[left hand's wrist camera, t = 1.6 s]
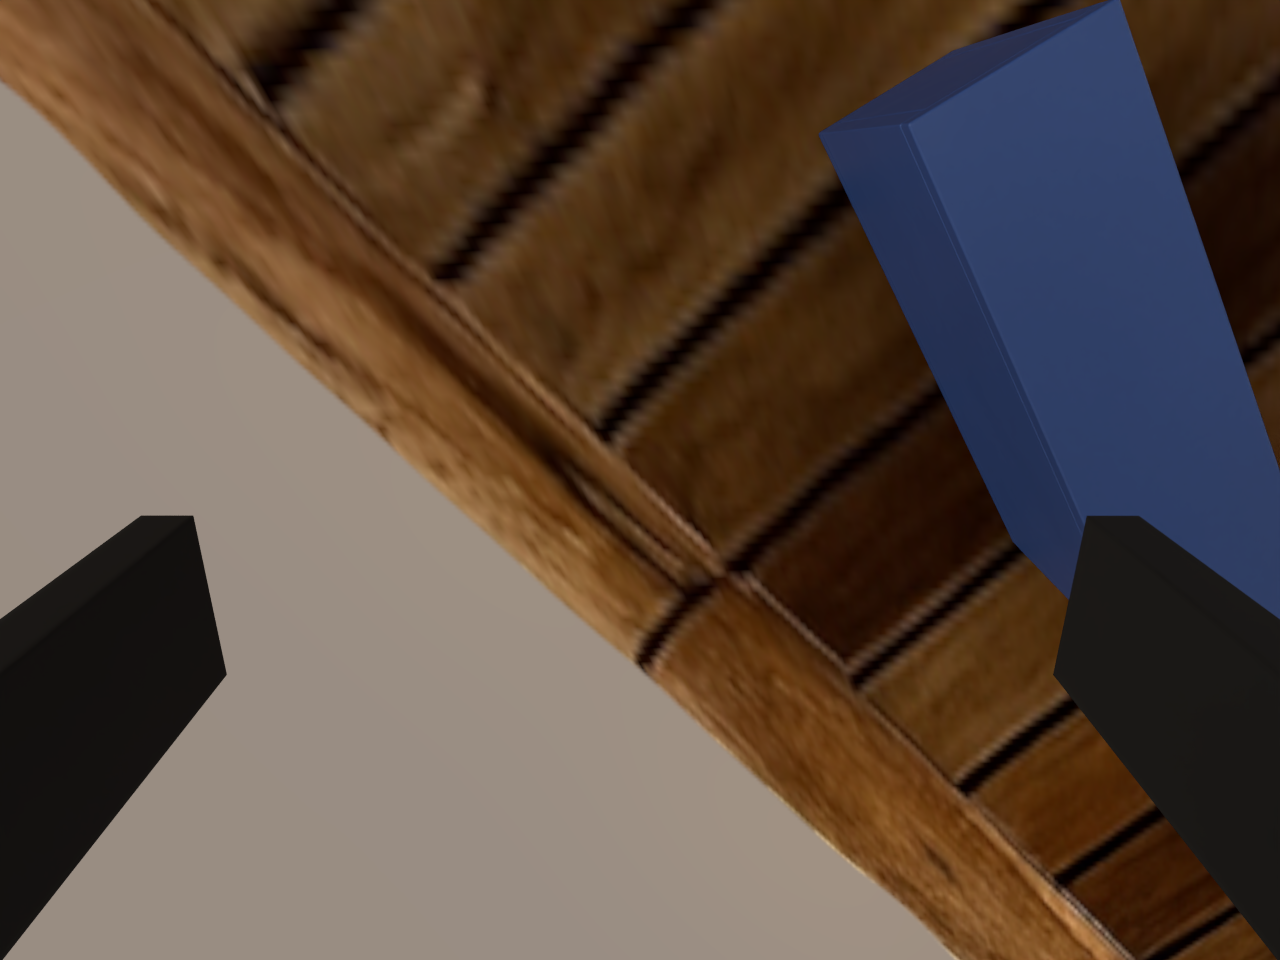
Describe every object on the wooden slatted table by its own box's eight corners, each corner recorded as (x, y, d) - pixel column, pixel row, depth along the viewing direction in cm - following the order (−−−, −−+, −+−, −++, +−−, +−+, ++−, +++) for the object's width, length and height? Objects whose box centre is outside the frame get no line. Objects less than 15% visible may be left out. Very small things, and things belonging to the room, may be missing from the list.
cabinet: (1132, 483, 36) (1330, 615, 26) (1012, 542, 37) (1157, 692, 27) (954, 49, 30) (1120, -5, 20) (817, 133, 31) (907, 123, 21)
